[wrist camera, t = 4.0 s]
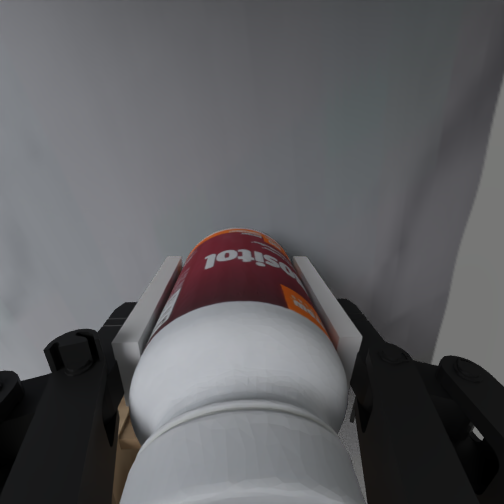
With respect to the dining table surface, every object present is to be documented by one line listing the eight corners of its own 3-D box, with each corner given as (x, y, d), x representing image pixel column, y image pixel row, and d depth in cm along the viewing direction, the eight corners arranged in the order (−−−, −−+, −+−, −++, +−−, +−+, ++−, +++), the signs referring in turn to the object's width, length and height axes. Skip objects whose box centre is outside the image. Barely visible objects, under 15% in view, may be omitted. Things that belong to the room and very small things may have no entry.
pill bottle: (308, 247, 14) (506, 497, 4) (264, 329, 16) (317, 637, 6) (205, 205, 13) (90, 416, 3) (170, 300, 15) (28, 632, 5)
